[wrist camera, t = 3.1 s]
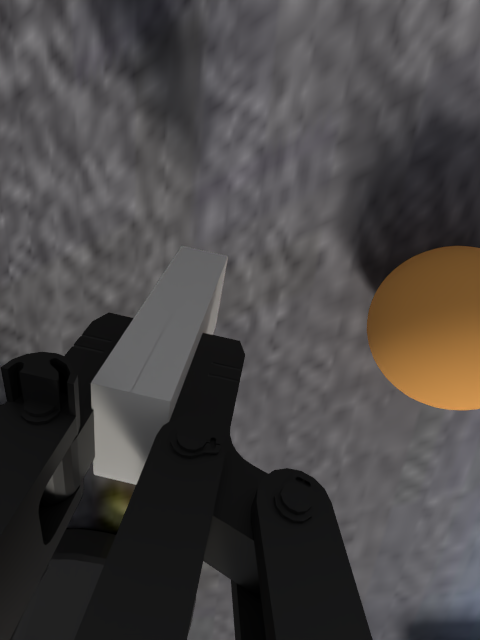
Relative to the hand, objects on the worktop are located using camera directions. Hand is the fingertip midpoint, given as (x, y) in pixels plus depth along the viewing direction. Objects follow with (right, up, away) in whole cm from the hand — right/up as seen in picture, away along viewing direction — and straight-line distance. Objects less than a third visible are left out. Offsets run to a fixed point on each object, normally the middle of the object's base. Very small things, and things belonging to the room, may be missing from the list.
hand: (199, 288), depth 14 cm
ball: (+9, -1, +2) cm, 9 cm away
